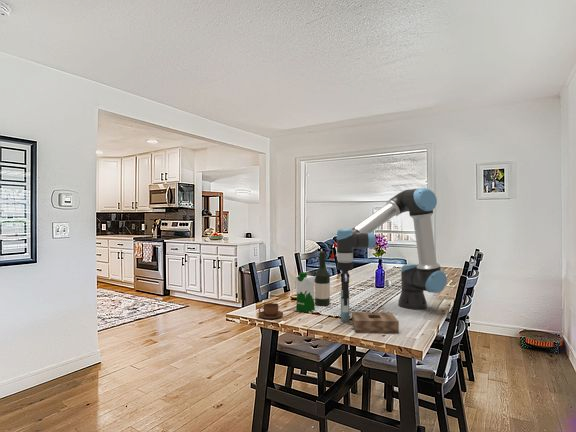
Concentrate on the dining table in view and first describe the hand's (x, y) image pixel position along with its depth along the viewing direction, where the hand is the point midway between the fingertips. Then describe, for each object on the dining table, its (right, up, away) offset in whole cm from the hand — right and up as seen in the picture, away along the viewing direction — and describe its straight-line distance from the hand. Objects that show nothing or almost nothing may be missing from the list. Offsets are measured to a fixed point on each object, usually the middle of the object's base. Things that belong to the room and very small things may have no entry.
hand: (344, 310), depth 175 cm
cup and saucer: (-35, -5, +7) cm, 36 cm away
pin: (0, -5, 0) cm, 5 cm away
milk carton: (-18, -5, +19) cm, 27 cm away
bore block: (+11, -5, -12) cm, 17 cm away
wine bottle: (-8, -5, +32) cm, 33 cm away
